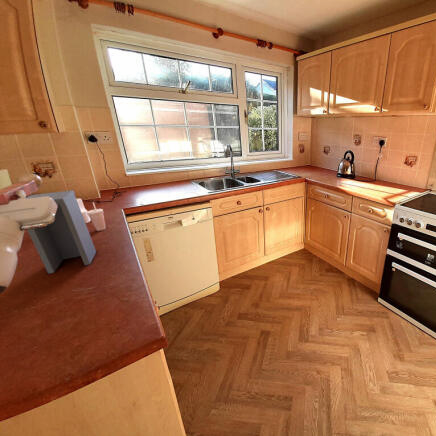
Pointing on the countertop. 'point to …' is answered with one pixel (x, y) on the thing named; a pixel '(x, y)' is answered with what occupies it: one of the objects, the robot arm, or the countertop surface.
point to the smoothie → (97, 218)
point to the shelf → (63, 233)
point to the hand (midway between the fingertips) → (8, 193)
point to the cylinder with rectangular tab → (83, 211)
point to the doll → (20, 187)
